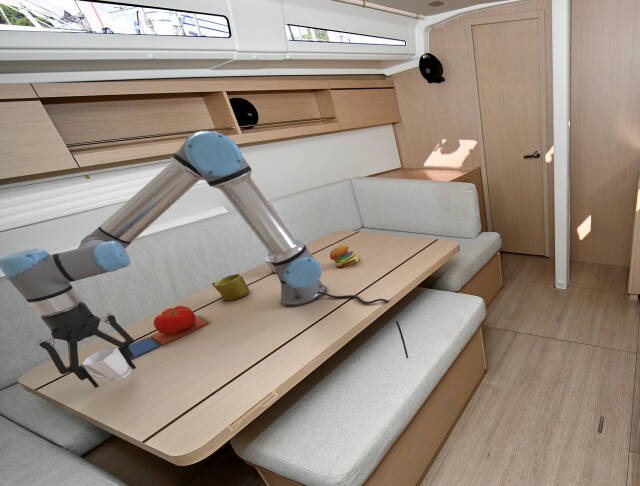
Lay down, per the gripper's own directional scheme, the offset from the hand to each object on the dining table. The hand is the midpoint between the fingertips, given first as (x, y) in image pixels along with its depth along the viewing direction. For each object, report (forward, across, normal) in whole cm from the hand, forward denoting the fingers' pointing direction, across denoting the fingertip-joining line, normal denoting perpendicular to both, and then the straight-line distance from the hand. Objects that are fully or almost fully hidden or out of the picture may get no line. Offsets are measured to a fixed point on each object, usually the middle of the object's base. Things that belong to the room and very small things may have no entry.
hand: (115, 376), depth 99 cm
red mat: (+3, -20, -18) cm, 27 cm away
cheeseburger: (+5, -80, -9) cm, 81 cm away
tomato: (+3, -20, -18) cm, 27 cm away
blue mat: (+3, -6, -18) cm, 19 cm away
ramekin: (+4, -66, -34) cm, 74 cm away
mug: (+4, -41, -28) cm, 50 cm away
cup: (0, 0, 0) cm, 0 cm away
